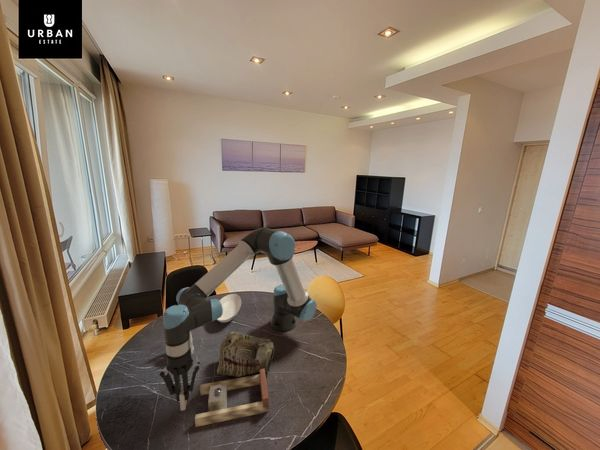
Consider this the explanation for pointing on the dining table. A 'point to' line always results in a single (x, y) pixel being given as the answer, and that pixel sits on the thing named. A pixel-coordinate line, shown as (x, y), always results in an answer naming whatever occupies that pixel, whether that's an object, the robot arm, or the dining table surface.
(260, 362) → the sculptural head
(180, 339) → the robot arm
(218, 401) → the block
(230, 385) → the channel
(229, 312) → the bowl
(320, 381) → the dining table surface
